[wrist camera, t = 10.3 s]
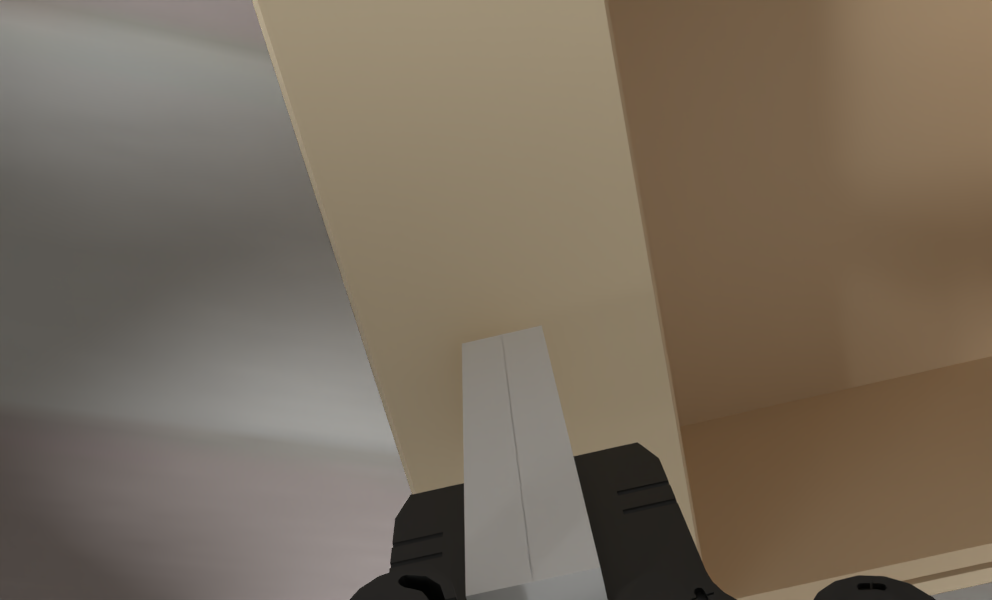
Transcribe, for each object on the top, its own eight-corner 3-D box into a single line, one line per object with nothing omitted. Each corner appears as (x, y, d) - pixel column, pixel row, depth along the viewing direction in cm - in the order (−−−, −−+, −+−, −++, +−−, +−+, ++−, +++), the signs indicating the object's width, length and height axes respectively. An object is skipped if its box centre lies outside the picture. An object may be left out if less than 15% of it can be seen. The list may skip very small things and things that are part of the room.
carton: (627, 462, 30) (694, 649, 22) (502, -157, 23) (532, -233, 14) (1036, 370, 30) (1265, 526, 21) (1050, -298, 22) (1417, -462, 14)
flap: (697, 608, 21) (488, 730, 19) (566, -131, 15) (232, -58, 13) (709, 620, 20) (497, 746, 19) (580, -137, 14) (237, -62, 12)
